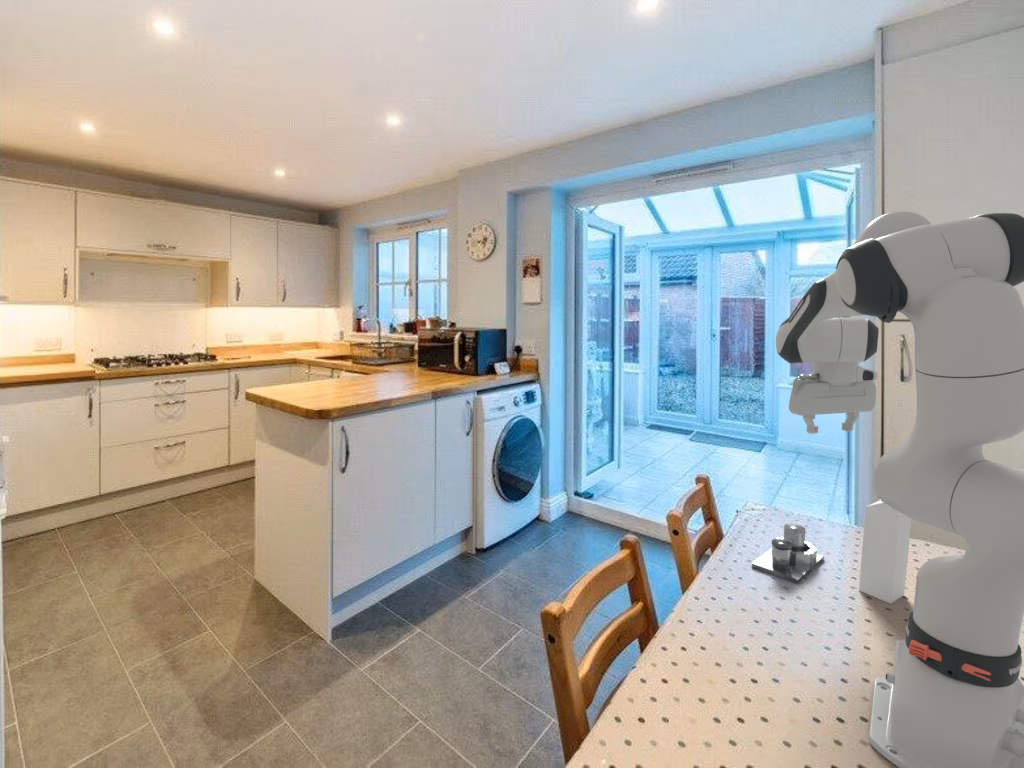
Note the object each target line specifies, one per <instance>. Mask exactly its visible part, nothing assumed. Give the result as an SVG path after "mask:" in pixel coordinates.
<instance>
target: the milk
mask: <svg viewBox="0 0 1024 768" xmlns="http://www.w3.org/2000/svg"><path fill="white" fill-rule="evenodd" d="M864 512H865V514H864V515H865V516H864V525H863V526H864V527H863V535H862V537H863V538H862V548H861V561H860V572H859V573H860V574H859V583H858V584H859V585H858V586H859V588H858V591H859V592H861V593H863V594H867V595H868V596H871V597H874V598H875V599H878V600H880V601H883V602H886V603H888V604H890V605H892V604H893V603H895V602H896V601H898V600H899V599H901V598H903V596H905V589H906V579H907V568H908V558H909V547H910V540H911V539H910V537H911V529H912V528H911V527H912V519H911V518H909V517H907V516H906V515H904V514H902V513H900V512H898V511H896V510H895V509H893V508H891V507H890V506H888V505H886V504H885V503H883V502H882V501H880V500H878V501H875V502H873V503H871V504H868V505H865V511H864Z"/></svg>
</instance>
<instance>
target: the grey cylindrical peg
mask: <svg viewBox="0 0 1024 768" xmlns="http://www.w3.org/2000/svg"><path fill="white" fill-rule="evenodd" d="M783 537H784V540H787V541H789V542H791V543H792V549H791V551H794V552H804V543H805V541H806V527H804V526H803V525H800V524H797V523H786V524H784V527H783Z"/></svg>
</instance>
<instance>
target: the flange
mask: <svg viewBox="0 0 1024 768" xmlns="http://www.w3.org/2000/svg"><path fill="white" fill-rule="evenodd" d="M791 549H792V543H791V542H789V541H787V540H784V536H779V537H776V538H773V539H771V548H770V549H769V550H767V551H766V552H764V553H763V554H761V555H760V556H759V557H758V558H756V559H755V560H753V562H751V567H752V568H753V569H757V570H758V571H759V570H760V571H761V572H763V573H767V574H770V575H772V576H775V577H778V578H781V579H784V580H786V581H789V582H792V583H794V584H797V585H798V584H800V583H801V581H802V580H804V579H805V578H807V576H808V575H809V574H810V573H811V572H813V571H814V570H815V568H817V567H818V566H819V565H820V564H821V563H823V561H825V555H823V554H820V553H818V548H817V547H816V546H814V545H813V543H811V542H809V541H806V540H805V543H804V552H794V551H791Z"/></svg>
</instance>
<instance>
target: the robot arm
mask: <svg viewBox="0 0 1024 768" xmlns="http://www.w3.org/2000/svg"><path fill="white" fill-rule="evenodd" d="M1023 282H1024V217H1023V216H1021V215H1019V214H1017V213H1013V212H997V213H996V212H993V213H984V214H978V215H975V216H972V217H969V218H963V219H955V220H949V221H943V222H939V223H933V224H932V223H931V221H930V220H928V218H926V217H924V216H923V215H921V214H919V213H916V212H913V211H907V210H906V211H903V210H901V211H899V210H898V211H892V212H888V213H885V214H882V215H881V216H879V217H877V218H875V219H874V220H872V221H871V222H870V223H869V224H868V225H866V227H865V228H864V229H863V230H862V232H861V233H860V234H859V235H858V237H857V238H856V240H855V242H854V243H853V245H851V246H849V247H848V248H845V249H844V251H843V252H842V254H841V255H840V256H839V258H838V260H837V263H836V268H835V270H834V271H832V272H830V274H828V275H827V276H825V277H824V278H821V279H819V280H817V281H815V282H814V283H812V285H811V286H810V287H809V288H808V290H807V291H806V292H805V293H804V295H803V296H802V298H801V299H800V300H799V302H798V304H797V306H795V308H794V310H792V312H791V314H790V315H789V316H788V318H786V319H784V321H783V322H782V323H781V324H780V326H779V327H778V330H777V332H776V336H775V347H776V353H777V354H778V356H779V357H781V358H782V359H783V360H784V361H786V363H788V364H804V363H812V365H811V373H810V374H800V375H798V376H797V377H796V378H795V379H793V382H792V388H791V392H790V397H789V401H788V402H789V403H788V410H789V412H790V413H791V414H793V415H797V416H802V419H803V421H804V423H805V425H806V433H808V434H811V435H812V434H817V433H818V432H819V426H818V425H816V424H815V421H814V420H816V416H818V415H832V414H833V415H834V414H846V416H847V417H846V419H845V422H841V430H842V431H844V432H852V431H853V430H854V424H855V423H856V421H857V420H858V418H859V417H860V416H859V415H860V413H863V412H871V411H873V410H874V408H875V406H876V399H877V385H876V383H875V381H876V380H877V377H878V373H877V372H876V371H875V370H872V369H868V368H865V367H863V366H860V365H859V363H862V362H866V361H867V360H869V359H870V358H872V357H873V356H874V355H875V354H876V353H877V351H878V342H879V330H880V329H879V327H878V326H877V325H876V324H875V323H874V322H872V320H870V319H868V318H864V317H862V316H869V317H875V318H878V319H879V321H880V322H882V323H885V324H886V323H887V324H890V323H892V322H893V320H895V317H896V316H897V313H898V312H899V313H900V314H902V315H903V316H905V317H906V318H907V320H909V321H910V323H911V325H912V328H913V333H914V367H915V368H914V369H915V383H916V385H915V387H916V416H915V417H916V418H915V423H914V427H913V429H912V431H911V433H910V435H909V436H908V437H907V439H906V440H905V441H904V442H903V443H901V444H900V445H898V446H896V447H894V448H892V449H890V450H888V451H887V452H885V453H884V454H883V455H882V456H881V457H880V458H879V459H878V460H877V462H876V464H875V466H874V468H873V470H872V471H873V472H872V478H871V479H872V480H871V481H872V486H873V490H874V492H875V496H876V497H877V499H878V501H882V502H883V503H885V504H886V505H888V506H890V507H891V508H893V509H895V510H896V511H898V512H900V513H902V514H904V515H906V516H907V517H909V518H911V520H913V521H916V522H920V523H923V524H925V525H928V526H931V527H933V528H936V529H939V530H941V531H944V532H947V533H950V534H953V535H956V536H957V537H958V536H959V537H960V538H963V539H965V542H966V547H965V551H964V554H962V555H956V554H955V555H943V556H937V557H934V558H931V559H928V560H927V561H926V562H923V564H922V565H921V566H920V568H919V569H918V570H917V573H916V579H915V580H916V582H915V590H914V599H913V601H914V602H913V609H912V611H911V612H909V616H908V620H907V622H906V627H905V630H906V634H905V638H903V639H899V640H896V641H895V649H894V658H893V667H892V673H891V672H887V673H885V677H883V676H879V677H878V676H877V677H876V678H874V682H873V688H872V689H873V690H872V698H871V699H872V700H871V709H870V718H869V719H870V720H869V731H868V743H869V744H870V745H871V747H873V748H874V749H875V750H876V751H877V752H878V753H879V754H880V755H882V756H883V757H884V758H885V759H886V760H888V761H890V762H891V763H892V764H893V765H895V766H896V767H898V768H1024V684H1023V682H1022V681H1021V680H1020V678H1019V676H1020V672H1021V669H1022V668H1021V667H1022V665H1023V664H1022V663H1023V657H1022V651H1023V650H1022V647H1021V645H1020V644H1019V641H1020V640H1019V639H1020V634H1021V628H1022V623H1023V619H1024V468H1021V467H1016V466H1012V465H1008V464H1004V463H1003V464H1002V463H999V462H993V461H992V460H987V459H986V458H985V456H984V453H983V446H984V445H989V444H994V443H997V442H1000V441H1004V440H1008V439H1012V438H1013V437H1016V436H1017V435H1019V434H1021V433H1022V432H1023V431H1024V304H1023V301H1022V299H1021V296H1020V293H1019V291H1018V290H1017V289H1016V287H1015V286H1017V285H1020V284H1021V283H1023Z"/></svg>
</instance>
